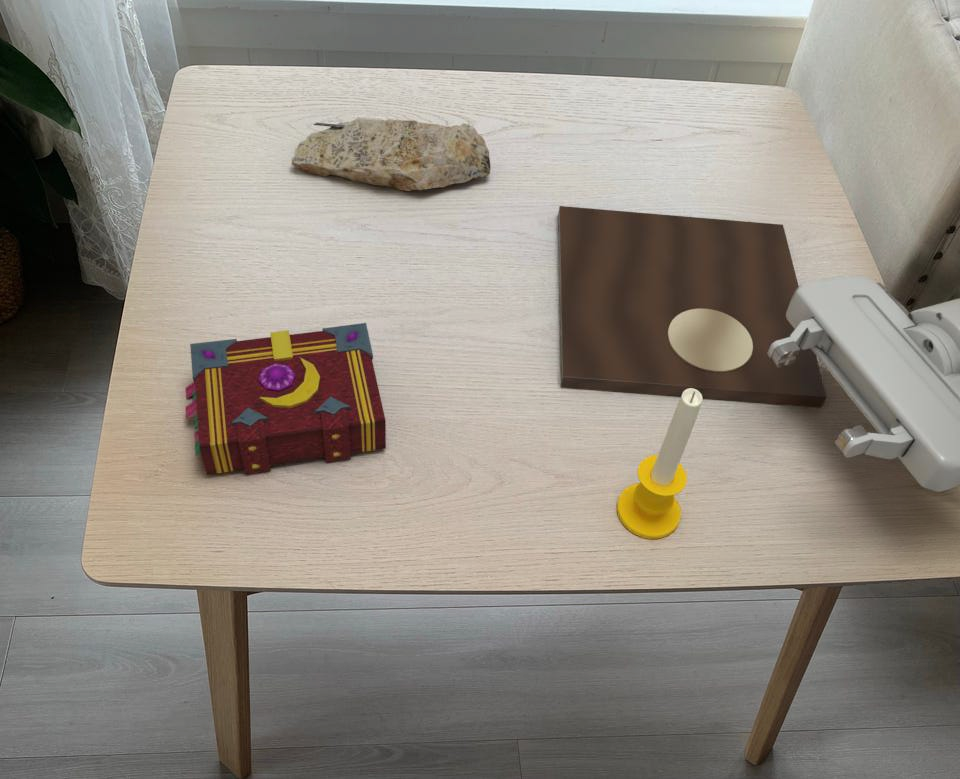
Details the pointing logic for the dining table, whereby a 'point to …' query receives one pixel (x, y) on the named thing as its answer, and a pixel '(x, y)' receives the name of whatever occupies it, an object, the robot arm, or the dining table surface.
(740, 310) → the board
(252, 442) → the decorative book
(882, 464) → the dining table surface
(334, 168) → the stone
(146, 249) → the dining table surface
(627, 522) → the candle
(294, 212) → the dining table surface
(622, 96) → the dining table surface
